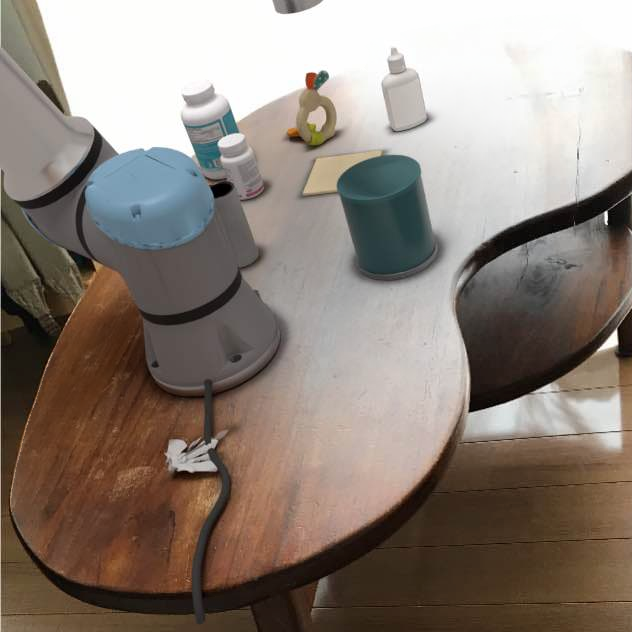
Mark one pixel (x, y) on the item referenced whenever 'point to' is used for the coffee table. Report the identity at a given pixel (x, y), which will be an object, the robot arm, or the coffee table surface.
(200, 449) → the flower
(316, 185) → the mat
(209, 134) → the pill bottle
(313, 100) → the rattle
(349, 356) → the coffee table surface
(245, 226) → the grey hollow tube
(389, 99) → the eye dropper bottle
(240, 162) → the pill bottle
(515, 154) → the coffee table surface
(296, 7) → the cup
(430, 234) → the teal tin can
